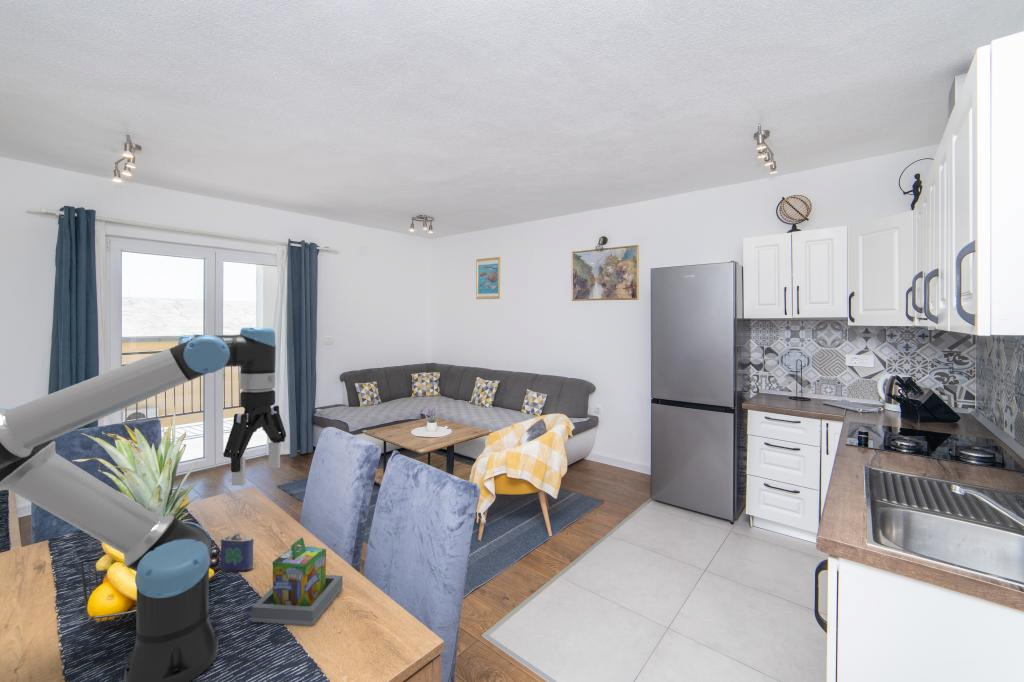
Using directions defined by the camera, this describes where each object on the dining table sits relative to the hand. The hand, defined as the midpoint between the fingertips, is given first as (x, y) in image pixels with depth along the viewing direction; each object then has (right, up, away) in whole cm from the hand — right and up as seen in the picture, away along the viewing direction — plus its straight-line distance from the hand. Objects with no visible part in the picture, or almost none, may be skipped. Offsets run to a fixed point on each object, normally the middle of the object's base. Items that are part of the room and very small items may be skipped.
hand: (257, 475), depth 109 cm
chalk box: (+10, -32, +2) cm, 34 cm away
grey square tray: (+10, -33, +2) cm, 34 cm away
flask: (-16, -33, +18) cm, 40 cm away
